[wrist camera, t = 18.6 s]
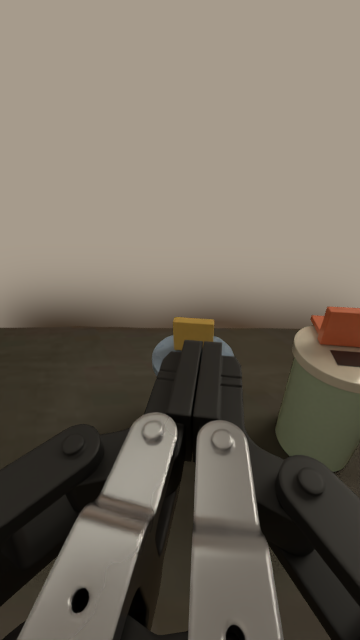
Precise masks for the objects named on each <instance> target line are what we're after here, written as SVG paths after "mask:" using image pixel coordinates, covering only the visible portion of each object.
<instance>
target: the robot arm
mask: <svg viewBox="0 0 360 640" xmlns="http://www.w3.org/2000/svg"><path fill="white" fill-rule="evenodd" d="M192 452H193V462H196V471H195V496H194V521H193V534H192V556H191V580H190V604H189V629H188V631H186V632H180V633H174V634H167V635H156V634H154V633H152V632H151V627H152V622H153V618H154V613H155V609H156V604H157V599H158V595H159V589H160V583H161V577H162V567H163V560H164V555H165V550H166V546H167V542H168V537H169V533H170V528H171V524H172V520H173V515H174V511H175V506H176V502H177V498H178V493H179V489H180V482H181V478H182V472H183V465H184V461H190V462H191V460H192ZM266 540H267V541H266ZM267 542H268V544H269V546H270V547H271V549H272V551H273V552H274V554H275V555H276V557H277V558H278V560H279V561H280V563H281V564H282V566H283V567H284V569H285V570H286V572H287V573H288V575H289V576H290V578H291V579H292V581H293V582H294V584H295V585H296V587H297V588H298V590H299V591H300V593H301V594H302V596H303V597H304V599H305V600H306V602H307V603H308V605H309V606H310V608H311V609H312V611H313V612H314V614H315V615H316V617H317V619H318V620H319V622H320V623H321V625H322V626H323V628H324V629H325V631H326V632H327V634H328V635H329V637H330V638H331V640H360V498H359V497H358V496H357V495H356V494H355V493H353V492H352V491H351V490H350V489H349V488H348V487H347V486H346V485H345V484H344V483H343V482H342V481H341V480H340V479H339V478H338V477H337V476H336V475H335V474H334V473H333V472H332V471H331V470H330V469H329V468H328V467H326V466H325V465H324V464H323V463H321V462H320V461H318V460H316V459H314V458H312V457H309V456H305V455H293V456H290V457H288V458H286V459H285V460H284V459H282V458H280V457H278V456H275V455H273V454H271V453H269V452H267V451H265V450H263V449H261V448H260V447H258V446H257V445H256V444H255V443H254V442H253V441H252V440H251V439H250V437H249V436H248V434H247V432H246V429H245V426H244V411H243V391H242V372H241V365H240V363H239V362H238V360H237V359H236V357H235V356H224V355H222V342H210V341H204V345H203V341H195V340H184V344H183V348H182V351H181V352H175V351H171V352H170V353H169V354H168V355H167V356H166V357H165V358H164V359H163V360H162V363H161V366H160V370H159V372H158V375H157V379H156V381H155V384H154V387H153V390H152V393H151V396H150V398H149V401H148V404H147V407H146V410H145V413H144V415H143V416H141V417H140V418H138V419H137V420H136V421H135V422H134V423H133V425H132V426H131V427H130V428H128V429H126V430H123V431H119V432H113V433H107V434H102V435H99V433H98V431H97V430H96V429H95V428H94V427H93V426H90V425H86V424H80V425H75V426H72V427H69V428H67V429H65V430H64V431H62V432H61V433H59V434H57V435H56V436H54V437H53V438H51V439H49V440H48V441H46V442H44V443H43V444H41V445H40V446H38V447H36V448H35V449H33V450H32V451H30V452H28V453H27V454H25V455H24V456H22V457H20V458H19V459H17V460H15V461H14V462H12V463H11V464H9V465H7V466H6V467H4V468H3V469H1V470H0V606H2V605H3V604H4V603H5V602H6V601H7V600H8V599H9V598H11V597H12V596H13V595H14V594H15V593H16V592H17V591H18V590H20V589H21V588H22V587H23V586H24V585H25V584H26V583H27V582H29V581H30V580H31V579H32V578H33V577H34V576H35V575H36V574H38V573H39V572H40V571H41V570H42V569H43V568H44V567H46V566H47V565H48V564H49V563H50V562H51V561H52V560H53V559H55V558H56V557H57V556H58V557H57V559H56V561H55V563H54V565H53V567H52V569H51V571H50V573H49V575H48V577H47V579H46V581H45V583H44V585H43V587H42V589H41V591H40V593H39V595H38V598H37V600H36V602H35V604H34V606H33V608H32V610H31V612H30V614H29V616H28V618H27V620H26V621H25V622H23V623H22V624H20V625H19V626H18V627H17V628H15V629H14V630H13V631H12V632H10V633H9V634H8V635H7V636H6V637H5V638H4V639H3V640H284V639H283V632H282V626H281V620H280V613H279V607H278V601H277V595H276V588H275V582H274V576H273V569H272V563H271V557H270V552H269V548H268V544H267Z"/></svg>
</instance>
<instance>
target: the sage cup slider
mask: <svg viewBox="0 0 360 640" xmlns="http://www.w3.org/2000/svg"><path fill="white" fill-rule="evenodd" d="M311 321H312V323H313V325H314V327H315V329H316V331H317V333H318V338H317V339H318V341H319V343H320V344H323V345H336V346H349V347H360V308H345V307H327V309H326V313H325V316H314V315H312V316H311Z"/></svg>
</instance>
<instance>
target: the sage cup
mask: <svg viewBox="0 0 360 640" xmlns="http://www.w3.org/2000/svg"><path fill="white" fill-rule="evenodd" d="M317 338H318V333H317V331H316V329H315V327H314V325H311V326H307V327H305V328H303V329H301V330H300V331H299V332H298V333H297V334H296V335H295V338H294V342H293V346H292V351H293V355H294V359H293V362H292V366H291V370H290V373H289V377H288V381H287V384H286V388H285V392H284V395H283V399H282V403H281V406H280V410H279V414H278V417H277V421H276V425H275V432H276V436H277V439H278V441H279V443H280V445H281V447H282V448H283V449H284V451H285V452H286V453H287V454H288V455H289V456H293V455H305V456H309V457H312V458H314V459H316V460H318V461H320V462H321V463H323V464H324V465H325V466H326V467H328V468H329V469H330V470H331V471H332V472H336V471H339V470H341V469H343V468H344V467H345V466H346V465H347V464H348V462H349V461H350V459H351V457H352V455H353V454H354V452H355V450H356V449H357V447H358V445H359V443H360V347H349V346H336V345H323V344H320V343H319V341H318V339H317Z"/></svg>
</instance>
